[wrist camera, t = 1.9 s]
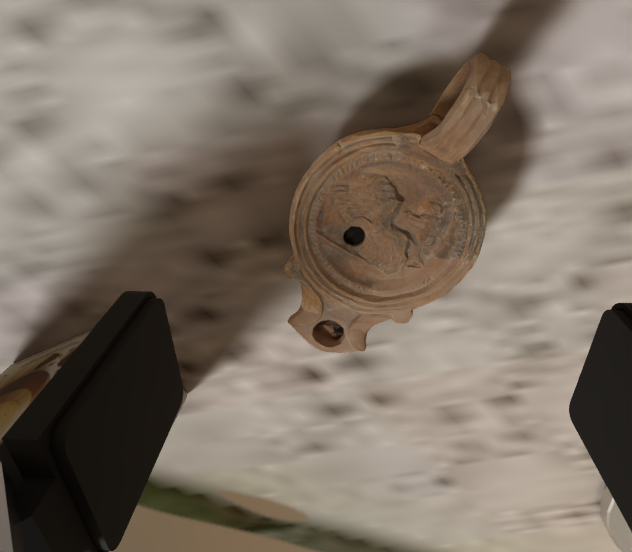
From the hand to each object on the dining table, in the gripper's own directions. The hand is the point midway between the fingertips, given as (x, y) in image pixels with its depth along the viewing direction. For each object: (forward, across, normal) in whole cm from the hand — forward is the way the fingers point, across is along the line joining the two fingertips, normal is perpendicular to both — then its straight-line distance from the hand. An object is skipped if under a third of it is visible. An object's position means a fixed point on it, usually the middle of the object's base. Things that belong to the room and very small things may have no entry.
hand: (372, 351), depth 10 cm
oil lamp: (+11, -1, +1) cm, 11 cm away
